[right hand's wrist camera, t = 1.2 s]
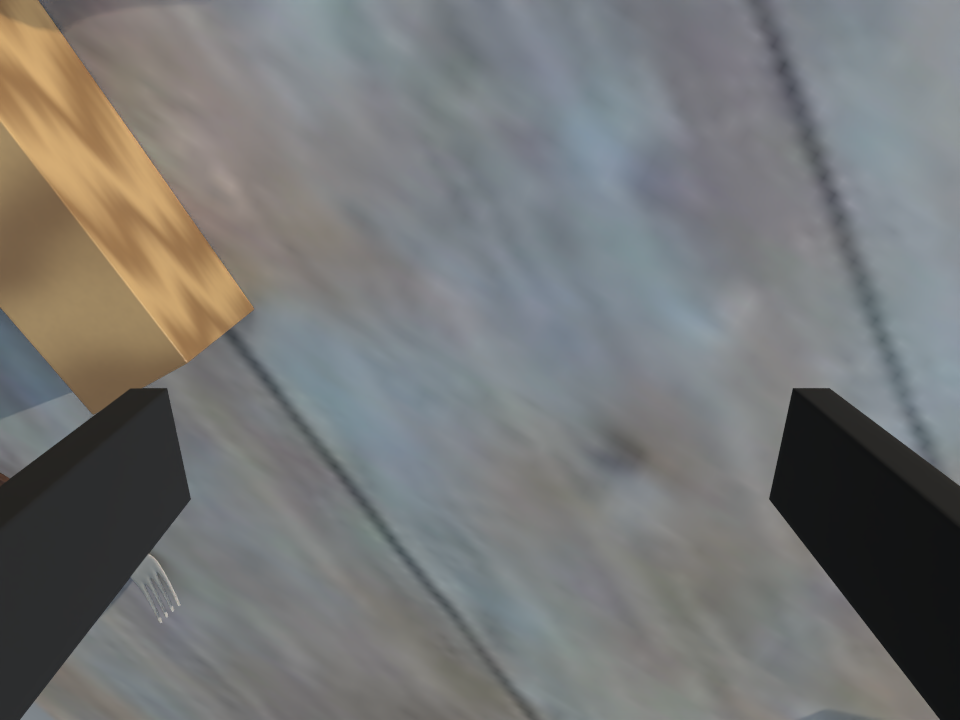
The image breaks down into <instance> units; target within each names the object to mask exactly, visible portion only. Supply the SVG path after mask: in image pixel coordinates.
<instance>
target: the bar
mask: <svg viewBox="0 0 960 720" xmlns="http://www.w3.org/2000/svg"><path fill="white" fill-rule="evenodd" d="M0 308H1V309H2V310H3V311H4V312H5V314H6V315H7V316H8V317H9V318H10V319H11V320H12V322H13V323H14V324H15V325H16V326H17V327H18V329H19V330H20V331H21V332H22V333H23V334H24V336H25V337H26V338H27V339H28V340H29V341H30V343H31V344H32V345H33V346H34V347H35V348H36V349H37V351H38V352H39V353H40V354H41V355H42V356H43V358H44V359H45V360H46V361H47V362H48V363H49V365H50V366H51V367H52V368H53V369H54V370H55V371H56V373H57V374H58V375H59V376H60V377H61V378H62V380H63V381H64V382H65V383H66V384H67V385H68V387H69V388H70V389H71V390H72V391H73V392H74V394H75V395H76V396H77V397H78V398H79V399H80V400H81V402H82V403H83V404H84V405H85V406H86V407H87V409H88V410H89V411H90V412H91V413H92V414H96V413H98V412H99V411H101V410H102V409H104V408H105V407H106V406H108V405H109V404H110V403H112V402H113V401H114V400H116V399H117V398H118V397H120V396H121V395H122V394H124V393H125V392H126V391H128V390H129V389H130V388H143V387H145V386H147V385H149V384H150V383H152V382H154V381H156V380H158V379H159V378H161V377H163V376H165V375H167V374H169V373H170V372H172V371H174V370H176V369H178V368H179V367H181V366H183V365H185V364H187V363H188V362H189V361H191V360H192V359H193V358H194V357H196V356H197V355H198V354H199V353H201V352H202V351H203V350H204V349H206V348H207V347H208V346H209V345H211V344H212V343H213V342H214V341H216V340H217V339H218V338H219V337H221V336H222V335H223V334H224V333H226V332H227V331H228V330H229V329H231V328H232V327H233V326H234V325H235V324H237V323H238V322H239V321H240V320H242V319H243V318H244V317H245V316H247V315H248V314H249V313H250V312H252V311H253V310H254V308H253V306H252V305H251V304H250V302H249V301H248V299H247V298H246V296H245V295H244V294H243V292H242V291H241V289H240V288H239V286H238V285H237V284H236V282H235V281H234V279H233V278H232V276H231V275H230V274H229V272H228V271H227V269H226V268H225V266H224V265H223V264H222V262H221V261H220V259H219V258H218V256H217V255H216V254H215V252H214V251H213V249H212V248H211V246H210V245H209V244H208V242H207V241H206V239H205V238H204V236H203V235H202V234H201V232H200V231H199V229H198V228H197V226H196V225H195V224H194V222H193V221H192V219H191V218H190V216H189V215H188V214H187V212H186V211H185V209H184V208H183V206H182V205H181V204H180V202H179V201H178V199H177V198H176V196H175V195H174V194H173V192H172V191H171V189H170V188H169V186H168V185H167V184H166V182H165V181H164V179H163V178H162V176H161V175H160V174H159V172H158V171H157V169H156V168H155V167H154V165H153V164H152V162H151V161H150V159H149V158H148V157H147V155H146V154H145V152H144V151H143V149H142V148H141V147H140V145H139V144H138V142H137V141H136V139H135V138H134V137H133V135H132V134H131V132H130V131H129V129H128V128H127V127H126V125H125V124H124V122H123V121H122V119H121V118H120V117H119V115H118V114H117V112H116V111H115V109H114V108H113V107H112V105H111V104H110V102H109V101H108V99H107V98H106V97H105V95H104V94H103V92H102V91H101V89H100V88H99V87H98V85H97V84H96V82H95V81H94V79H93V78H92V77H91V75H90V74H89V72H88V71H87V69H86V68H85V67H84V65H83V64H82V62H81V61H80V59H79V58H78V57H77V55H76V54H75V52H74V51H73V49H72V48H71V47H70V45H69V44H68V42H67V41H66V39H65V38H64V37H63V35H62V34H61V32H60V31H59V29H58V28H57V27H56V25H55V24H54V22H53V21H52V19H51V18H50V17H49V15H48V14H47V12H46V11H45V9H44V8H43V7H42V5H41V4H40V2H39V1H38V0H0Z"/></svg>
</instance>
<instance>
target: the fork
mask: <svg viewBox="0 0 960 720" xmlns="http://www.w3.org/2000/svg"><path fill="white" fill-rule="evenodd" d="M9 479H10V478H8V477H6V476H5V475H3V474H1V473H0V486H1V485H2V484H4V483H5V482H6V481H8V480H9ZM157 573H159V574H160V575H161V577H162V578H163V580H164V581H165V583H166V585H167V586H168V588H169V590H170V592H171V593H172V595H173V597H174V599H175V601H176V603H177V605H178V606H180V602H179V600H178V598H177V596H176V593H175V591H174V589H173V587H172V585H171V583H170V581H169V579H168V577H167V576H166V574H165V572H164V571H163V569H162V567H161V566H160V564H159V563H158V561H157V560H156V559H155V558H154V557H153V556H152V555H150V554H148V555H147V556H146V558H145V559H144V560H143V561H142V563H141V564H140V565H139V567H138V568H137V569H136V570H135V572H134V573H133V574H132V576H131V577H130V578H131V579H132V580H133V581H134V582H135V583H136V584H137V586H138V587H139V588H140V589H141V591H142V592H143V593H144V595H145V597H146V598H147V600H148V602H149V603H150V605H151V607H152V609H153V611H154V612H155V614H156V616H157V618H158V620H159V623H162V620H161V617H160V615H159V613H158V611H157V609H156V606H155V604H154V602H153V600H152V598H151V596H150V594H149V592H148V591H147V589H146V586H145V584H146V585H147V586H148V587H149V588H150V590H151V591H152V593H153V594H154V596H155V598H156V600H157V601H158V603H159V605H160V607H161V609H162V611H163V613H164V615H165V617H166V618H167V617H168V614H167V612H166V609H165V607H164V605H163V603H162V601H161V599H160V597H159V595H158V593H157V591H156V589H155V587H154V585H153V583H152V581H151V578H152V579H153V580H154V581H155V583H156V584H157V586H158V587H159V589H160V590H161V592H162V594H163V596H164V597H165V599H166V601H167V603H168V605H169V607H170V609H171V611H172V612H174V608H173V606H172V604H171V602H170V599H169V597H168V595H167V593H166V591H165V589H164V587H163V585H162V583H161V581H160V579H159V577H158V575H157Z"/></svg>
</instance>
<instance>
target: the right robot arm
mask: <svg viewBox="0 0 960 720" xmlns="http://www.w3.org/2000/svg"><path fill="white" fill-rule="evenodd" d="M190 499H191V498H190V493H189V489H188V484H187V479H186V475H185V470H184V465H183V461H182V456H181V451H180V447H179V442H178V437H177V433H176V428H175V423H174V419H173V414H172V409H171V405H170V400H169V395H168V391H167V388H130V389H129V390H128V391H126V392H125V393H124V394H122V395H121V396H120V397H118V398H117V399H116V400H114V401H113V402H112V403H110V404H109V405H108V406H106V407H105V408H104V409H102V410H101V411H100V412H98V413H97V414H96V415H94V416H93V417H92V418H90V419H89V420H88V421H86V422H85V423H84V424H82V425H81V426H80V427H78V428H77V429H76V430H74V431H73V432H72V433H70V434H69V435H68V436H66V437H65V438H64V439H62V440H61V441H60V442H58V443H57V444H56V445H54V446H53V447H52V448H50V449H49V450H48V451H46V452H45V453H44V454H42V455H41V456H40V457H38V458H37V459H36V460H34V461H33V462H32V463H30V464H29V465H28V466H26V467H25V468H24V469H22V470H21V471H20V472H18V473H17V474H16V475H14V476H13V477H12V478H10V479H9V480H8V481H6V482H5V483H4V484H2V485H1V486H0V720H20V719H21V718H22V716H23V715H24V714H25V712H26V711H27V710H28V709H29V707H30V706H31V705H32V703H33V702H34V701H35V700H36V698H37V697H38V696H39V694H40V693H41V692H42V690H43V689H44V688H45V687H46V685H47V684H48V683H49V681H50V680H51V679H52V678H53V676H54V675H55V674H56V672H57V671H58V670H59V669H60V667H61V666H62V665H63V663H64V662H65V661H66V660H67V658H68V657H69V656H70V654H71V653H72V652H73V650H74V649H75V648H76V647H77V645H78V644H79V643H80V641H81V640H82V639H83V638H84V636H85V635H86V634H87V632H88V631H89V630H90V629H91V627H92V626H93V625H94V623H95V622H96V621H97V620H98V618H99V617H100V616H101V614H102V613H103V612H104V610H105V609H106V608H107V607H108V605H109V604H110V603H111V601H112V600H113V599H114V598H115V596H116V595H117V594H118V592H119V591H120V590H121V589H122V587H123V586H124V585H125V583H126V582H127V581H128V580H129V578H130V577H131V576H132V574H133V573H134V572H135V570H136V569H137V568H138V567H139V565H140V564H141V563H142V561H143V560H144V559H145V558H146V556H147V555H148V554H149V552H150V551H151V550H152V549H153V547H154V546H155V545H156V543H157V542H158V541H159V540H160V538H161V537H162V536H163V534H164V533H165V532H166V530H167V529H168V528H169V527H170V525H171V524H172V523H173V521H174V520H175V519H176V518H177V516H178V515H179V514H180V512H181V511H182V510H183V509H184V507H185V506H186V505H187V503H188V502H189V501H190ZM769 500H770V501H771V502H772V503H773V505H774V506H775V507H776V509H777V510H778V511H779V512H780V514H781V515H782V516H783V518H784V519H785V520H786V521H787V523H788V524H789V525H790V527H791V528H792V529H793V530H794V532H795V533H796V534H797V536H798V537H799V538H800V540H801V541H802V542H803V543H804V545H805V546H806V547H807V549H808V550H809V551H810V552H811V554H812V555H813V556H814V558H815V559H816V560H817V561H818V563H819V564H820V565H821V567H822V568H823V569H824V570H825V572H826V573H827V574H828V576H829V577H830V578H831V580H832V581H833V582H834V583H835V585H836V586H837V587H838V589H839V590H840V591H841V592H842V594H843V595H844V596H845V598H846V599H847V600H848V601H849V603H850V604H851V605H852V607H853V608H854V609H855V610H856V612H857V613H858V614H859V616H860V617H861V618H862V620H863V621H864V622H865V623H866V625H867V626H868V627H869V629H870V630H871V631H872V632H873V634H874V635H875V636H876V638H877V639H878V640H879V641H880V643H881V644H882V645H883V647H884V648H885V649H886V650H887V652H888V653H889V654H890V656H891V657H892V658H893V660H894V661H895V662H896V663H897V665H898V666H899V667H900V669H901V670H902V671H903V672H904V674H905V675H906V676H907V678H908V679H909V680H910V681H911V683H912V684H913V685H914V687H915V688H916V689H917V691H918V692H919V693H920V694H921V696H922V697H923V698H924V700H925V701H926V702H927V703H928V705H929V706H930V707H931V709H932V710H933V711H934V712H935V714H936V715H937V716H938V718H939V719H940V720H960V486H959V485H958V484H956V483H955V482H954V481H952V480H951V479H950V478H948V477H947V476H946V475H944V474H943V473H942V472H940V471H939V470H938V469H936V468H935V467H934V466H932V465H931V464H930V463H928V462H927V461H926V460H924V459H923V458H922V457H920V456H919V455H918V454H916V453H915V452H914V451H912V450H911V449H910V448H908V447H907V446H906V445H904V444H903V443H902V442H900V441H899V440H898V439H896V438H895V437H894V436H892V435H891V434H890V433H888V432H887V431H886V430H884V429H883V428H882V427H880V426H879V425H878V424H876V423H875V422H874V421H872V420H871V419H870V418H868V417H867V416H866V415H864V414H863V413H862V412H860V411H859V410H858V409H856V408H855V407H854V406H852V405H851V404H850V403H848V402H847V401H846V400H844V399H843V398H842V397H840V396H839V395H838V394H836V393H835V392H834V391H832V390H831V389H830V388H793V391H792V395H791V400H790V405H789V409H788V414H787V419H786V423H785V428H784V433H783V437H782V442H781V447H780V451H779V456H778V461H777V465H776V470H775V475H774V479H773V484H772V489H771V493H770V498H769Z"/></svg>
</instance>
